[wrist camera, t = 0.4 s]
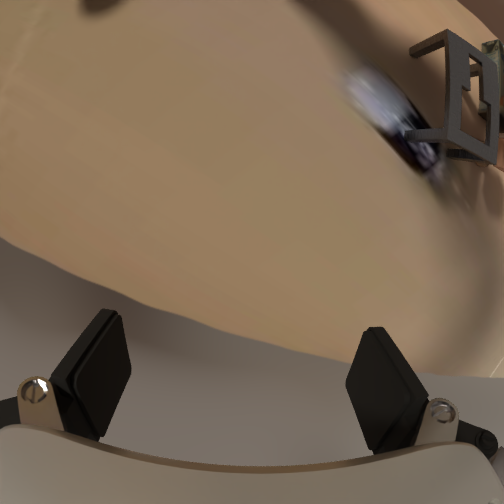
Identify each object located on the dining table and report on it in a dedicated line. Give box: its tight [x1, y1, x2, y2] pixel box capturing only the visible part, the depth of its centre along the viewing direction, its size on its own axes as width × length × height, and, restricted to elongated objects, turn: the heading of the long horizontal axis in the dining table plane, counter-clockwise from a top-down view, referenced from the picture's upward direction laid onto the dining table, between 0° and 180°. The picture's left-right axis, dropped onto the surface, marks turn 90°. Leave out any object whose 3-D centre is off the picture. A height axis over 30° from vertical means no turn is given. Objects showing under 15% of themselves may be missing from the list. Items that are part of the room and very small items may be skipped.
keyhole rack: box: [404, 29, 499, 165], centre depth 28 cm, size 17×11×11 cm, turn 172°
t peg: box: [475, 138, 504, 172], centre depth 31 cm, size 5×5×10 cm
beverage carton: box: [478, 39, 504, 133], centre depth 28 cm, size 8×19×7 cm, turn 164°
